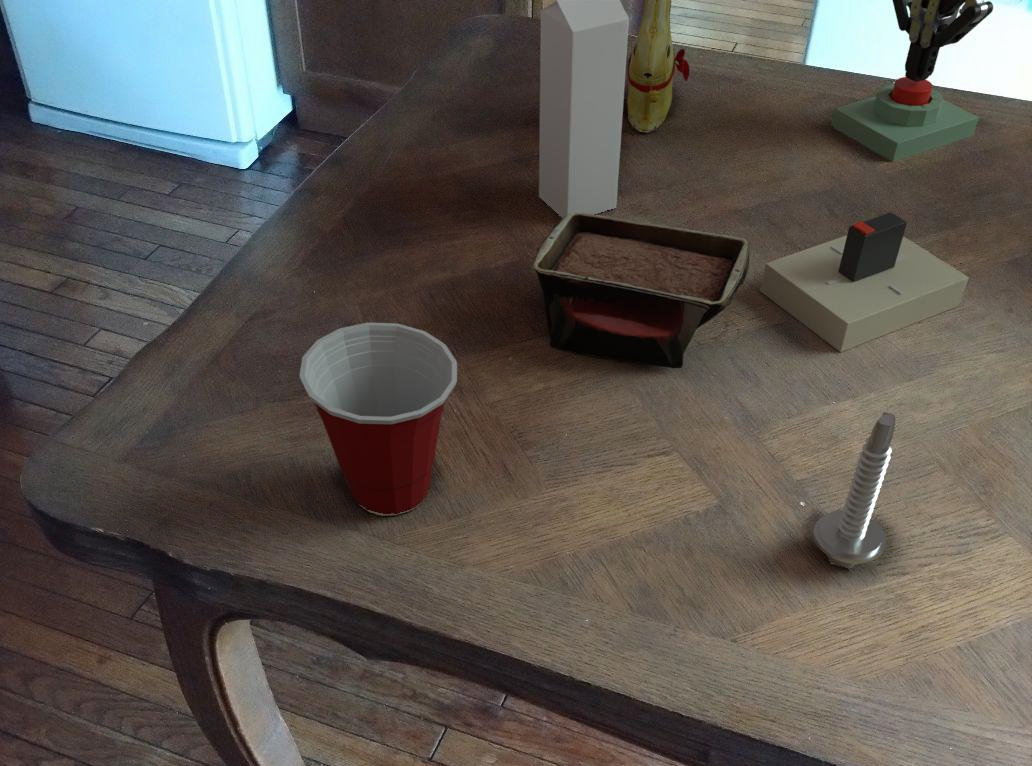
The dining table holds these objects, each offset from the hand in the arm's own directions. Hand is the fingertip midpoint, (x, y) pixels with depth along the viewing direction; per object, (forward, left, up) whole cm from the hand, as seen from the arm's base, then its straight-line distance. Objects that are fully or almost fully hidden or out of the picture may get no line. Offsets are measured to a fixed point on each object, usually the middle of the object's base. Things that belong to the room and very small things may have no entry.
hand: (916, 78), depth 116 cm
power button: (0, 0, -2) cm, 2 cm away
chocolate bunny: (+22, -17, -6) cm, 29 cm away
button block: (0, 0, -6) cm, 6 cm away
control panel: (+27, +23, -6) cm, 36 cm away
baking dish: (+47, +16, -6) cm, 50 cm away
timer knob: (+27, +23, -3) cm, 36 cm away
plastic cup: (+75, +25, -6) cm, 79 cm away
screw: (+50, +47, -6) cm, 69 cm away
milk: (+40, -5, -6) cm, 41 cm away
